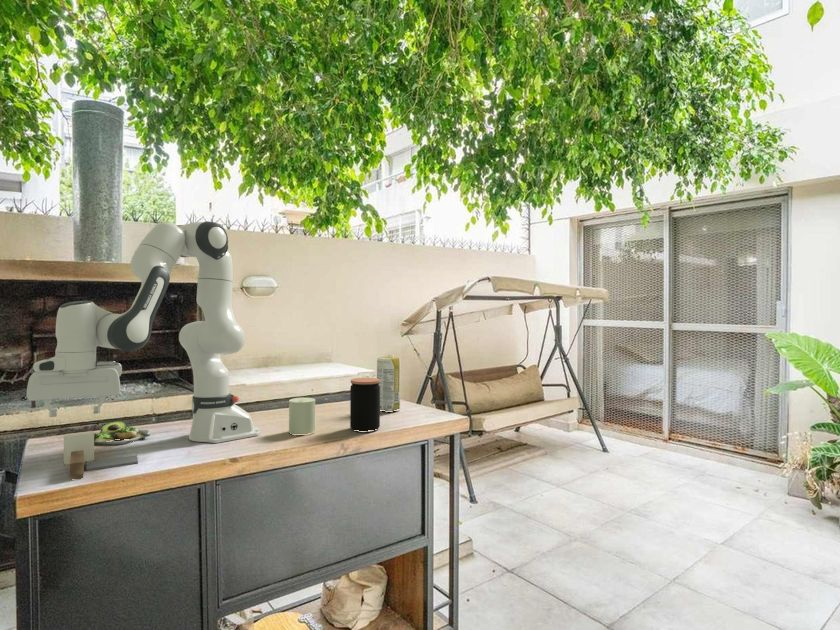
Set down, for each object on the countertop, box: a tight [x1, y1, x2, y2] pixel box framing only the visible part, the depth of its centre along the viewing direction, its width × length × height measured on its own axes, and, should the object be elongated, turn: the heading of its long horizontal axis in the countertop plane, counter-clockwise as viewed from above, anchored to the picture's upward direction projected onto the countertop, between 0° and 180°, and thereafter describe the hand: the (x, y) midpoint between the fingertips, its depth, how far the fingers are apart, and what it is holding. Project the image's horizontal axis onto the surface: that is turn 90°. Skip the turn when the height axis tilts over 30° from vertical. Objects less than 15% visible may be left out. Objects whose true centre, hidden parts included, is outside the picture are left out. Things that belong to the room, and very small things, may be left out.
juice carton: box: [376, 353, 401, 411], centre depth 209 cm, size 9×8×24 cm
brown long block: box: [69, 450, 85, 481], centre depth 130 cm, size 3×12×4 cm, turn 34°
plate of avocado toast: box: [94, 420, 151, 445], centre depth 164 cm, size 19×18×5 cm
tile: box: [63, 430, 95, 465], centre depth 140 cm, size 7×2×8 cm, turn 122°
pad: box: [85, 454, 139, 472], centre depth 138 cm, size 12×7×1 cm, turn 122°
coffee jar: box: [349, 377, 381, 431], centre depth 178 cm, size 11×11×18 cm
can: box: [288, 397, 316, 434], centre depth 173 cm, size 9×9×12 cm
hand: (75, 414), depth 130 cm, fingers open, 8 cm apart
